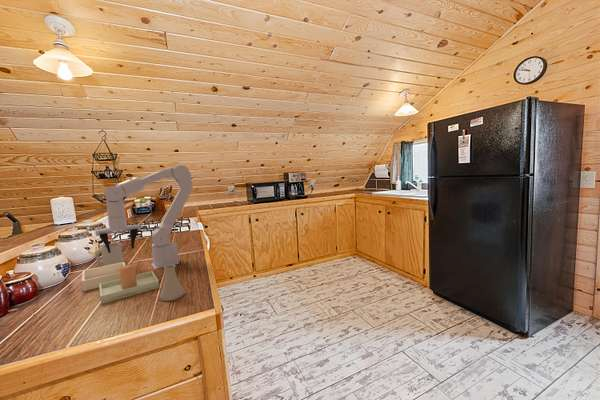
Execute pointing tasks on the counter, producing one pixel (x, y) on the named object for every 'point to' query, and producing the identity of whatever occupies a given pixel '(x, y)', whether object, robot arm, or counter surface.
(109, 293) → the tray
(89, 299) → the counter surface
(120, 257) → the cup
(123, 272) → the peg
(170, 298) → the flask
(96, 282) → the box
